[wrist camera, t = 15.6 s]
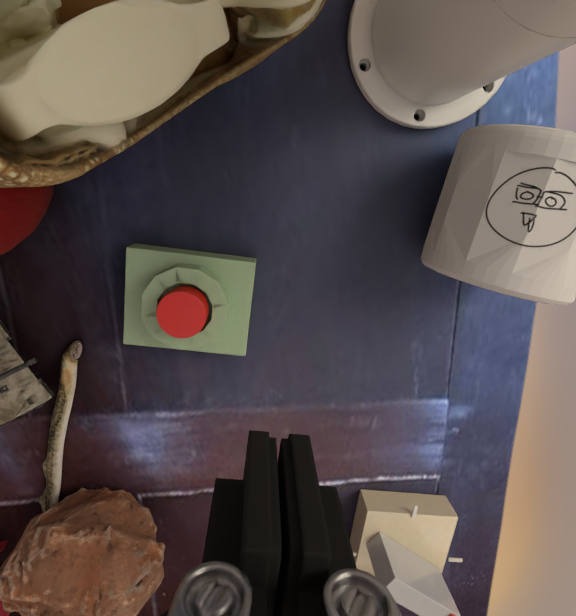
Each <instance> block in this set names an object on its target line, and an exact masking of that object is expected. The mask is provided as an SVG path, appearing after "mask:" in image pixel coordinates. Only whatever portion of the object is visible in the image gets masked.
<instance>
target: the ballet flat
mask: <svg viewBox="0 0 576 616" xmlns="http://www.w3.org/2000/svg"><path fill="white" fill-rule="evenodd" d="M325 2H326V0H0V188H12V187H41V186H50V185H56V184H60V183H63V182H66V181H69V180H72V179H75V178H77V177H80V176H82V175H83V174H85V173H87V172H88V171H90V170H91V169H93V168H94V167H96V166H98V165H99V164H101V163H103V162H105V161H107V160H108V159H110V158H111V157H113V156H115V155H116V154H119V153H121V152H123V151H124V150H125V149H127V148H128V147H130V146H132V145H133V144H135V143H137V142H138V141H139V140H141V139H142V138H143V137H145V136H146V135H148V134H149V133H151V132H152V131H154V130H155V129H156V128H158V127H159V126H160V125H162V124H163V123H164V122H166V121H168V120H169V119H171V118H172V117H173V116H174V115H176V114H178V113H179V112H181V111H182V110H183V109H184V108H186V107H188V106H189V105H191V104H192V103H193V102H195V101H196V100H198V99H199V98H200V97H202V96H203V95H205V94H206V93H208V92H209V91H211V90H212V89H214V88H215V87H217V86H219V85H221V84H224V83H226V82H228V81H230V80H232V79H234V78H236V77H238V76H240V75H241V74H243V73H245V72H246V71H248V70H250V69H252V68H253V67H255V66H256V65H258V64H259V63H261V62H262V61H263V60H264V59H266V58H267V57H268V56H269V55H271V54H272V53H273V52H275V51H276V50H277V49H279V48H280V47H281V46H282V45H284V44H285V43H287V42H289V41H290V40H292V39H293V38H294V37H296V36H297V35H298V34H300V33H301V32H302V31H304V30H305V29H306V28H307V27H308V26H309V25H310V24H311V23H312V22H313V21H314V20H315V18H316V17H317V15H318V13H319V12H320V11H321V9H322V8H323V6H324V4H325Z"/></svg>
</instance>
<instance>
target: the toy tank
mask: <svg viewBox="0 0 576 616" xmlns="http://www.w3.org/2000/svg"><path fill="white" fill-rule="evenodd" d="M9 335H11V334H10V333H9V331H8V330H7V328H6V327H5V325H4V324H3V322H2V321H1V320H0V426H3V425H4V424H6V423H8V422H10V421H12V420H14V419H16V418H18V417H20V416H23V415H25V414H27V413H29V412H31V411H34V410H35V409H37V408H39V407H41V406H43V405H44V404H45V402H46V401H48V400H49V399H50V398H52V396H53V395H54V393H53V391H51V390H50V388H49V387H48V386H47V384H46V383H45V382H44V381H42V380H41V378H40V379H37V378H36V377H35V376H34V375H35V374H33V373H32V372H31V370H30V369H29V368H28V366H30V365H33V364H35V363H37V361H38V359H36V358H33V359H31V360H29V361H27V362H25V363H24V361H23V360H22V359H21V357H20V356H19V355H18V354H17V352H16V351H15V350H14V347H15V346H14V347H12V346H11V344H10V343H9V342H8V341H9V340H10V339H12V338H11V337H10V336H9ZM12 342H14V341H12ZM14 343H15V342H14ZM18 345H19V344H18ZM16 346H17V345H16ZM38 373H39V372H38ZM36 374H37V373H36Z"/></svg>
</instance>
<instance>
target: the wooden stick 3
mask: <svg viewBox="0 0 576 616" xmlns="http://www.w3.org/2000/svg"><path fill="white" fill-rule="evenodd" d="M82 344H83V343H82V342H81V341H75V342H73V343H72V344H71V345H70V346H69V347H68V348H67V349H66V350H65V351H64V352H63V355H62V359H61V366H60V376H59V388H58V393H57V397H56V402H55V406H54V410H53V414H52V419H51V424H50V431H49V438H48V447H47V459H46V460H45V461H44V462H43V464H42V465H43V471H44V475H45V477H46V489H45V490H44V491H43V493H42V494H41V495H40V497H39V499H38V502H39V504H40V505H41V507H42V512H45V511H47V510H49V509H51V508H52V507H53V506H54V505H56V504H57V503H58V500H59V494H60V487H61V476H62V460H63V448H64V441H65V436H66V430H67V425H68V420H69V416H70V412H71V408H72V403H73V398H74V393H75V388H76V380H77V362H78V360H79V358H80V357H81V354H82V351H83V345H82Z"/></svg>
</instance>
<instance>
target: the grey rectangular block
mask: <svg viewBox="0 0 576 616" xmlns="http://www.w3.org/2000/svg"><path fill="white" fill-rule="evenodd" d="M366 546H367V549H368V553H369V556H370V560H371V563H372V567H373V570H374V573H375V577H376V578H378V579H379V580H380V581H381V582H382V583H383V584H384V585H385V586H386V587H387V588H388V590H389V591H390V593H391V595H392V596H393V598H394V600H395V602H397V603H399V604H400V605H402V606H404V607H405V608H407V609H409V610H411V611H412V612H414V613H416V614H418V615H419V616H461V615H460V613H459V611H458V609H457V607H456V605H455V602H454V600H453V598H452V596H451V594H450V592H449V590H448V587H447V585H446V583H445V581H444V579H443V577H442V574H441V572H440V570H439V568H437V567H436V566H434V565H433V564H431V563H429V562H428V561H426V560H425V559H423V558H421V557H420V556H418V555H416V554H415V553H413V552H412V551H410V550H408V549H407V548H405V547H404V546H402V545H400V544H399V543H397V542H396V541H394V540H392V539H391V538H389V537H388V536H386V535H384V534H383V533H381V532H378V533H377V534H376V535H375V536H374V537H373V539H372V540H371V541H370V542H369V543H368V544H367V545H366Z"/></svg>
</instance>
